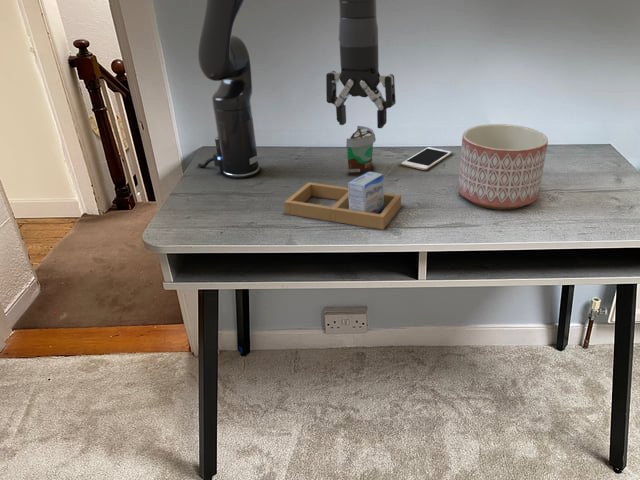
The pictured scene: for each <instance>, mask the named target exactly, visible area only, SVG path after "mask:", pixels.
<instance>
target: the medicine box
mask: <svg viewBox="0 0 640 480" xmlns="http://www.w3.org/2000/svg"><path fill="white" fill-rule="evenodd" d="M384 177H385V175H383V173H379V172H375V171H369V172H366V173H365V174H360V175H358V177H355V178H354V179H352V180H350V181H348V182H347V188H348V195H349V208H348V209H350V210H356V211H363V212H369V213H376V214H380V212H381V213H382V211H383V210H384V209H385V207H384V193H385V191H384V190H385V188H384V187H385V184H384V183H385V181H384V179H385V178H384Z"/></svg>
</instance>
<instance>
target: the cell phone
mask: <svg viewBox="0 0 640 480" xmlns="http://www.w3.org/2000/svg"><path fill="white" fill-rule="evenodd" d="M451 155H452V151H451V150H446V149H442V148H441V149H440V148H436V147H431V146H428V147H426V148H424V149H422V150H420V151H419V152H417V153H416V154H414V155H411V157H409V158H407V159H405V160H404V161H402V162H401V166H403V167H408V168H412V169H418V170H420V171H427V170H429V169H430V168H432V167H433V166H435V165H436V164H438V163H439V162H441V161H443V160H444V159H446V158H447V157H449V156H451Z"/></svg>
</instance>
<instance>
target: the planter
mask: <svg viewBox="0 0 640 480" xmlns="http://www.w3.org/2000/svg"><path fill="white" fill-rule="evenodd" d="M461 137H462V138H461V149H460V162H459V174H458V192H459V194H460V195H461V196H462V197H463V198H465V199H466V200H468V201H469V202H470V203H472V204H474V205H477V206H479V207H482V208H486V209H492V210H514V209H518V208H522V207H524V206H526V205H530V204H531V203H534V202H535V201H537V199H538V198H539V196H540V191H541V186H542V180H543V179H542V178H543V175H544V174H543V173H544V169H545V168H544V167H545V161H546V156H547V149H548V144H549V139H548V136H547V135H546V134H545V133H543V132H541V131H539V130H537V129H534V128H530V127H527V126H522V125H515V124H505V123H489V124H488V123H487V124H480V125H476V126H472V127H469V128H467V129H465V130H464V131H463V132H462V136H461Z"/></svg>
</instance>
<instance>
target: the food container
mask: <svg viewBox="0 0 640 480" xmlns="http://www.w3.org/2000/svg"><path fill="white" fill-rule="evenodd" d="M375 142H376V135H375V131H374V130H373V129H372V128H370V127H368V126H363V125H356V131H355V132H353V133H352V134H351V136H350V138H346V146H345V147H346V150H347V167H348V176H357V175H358V176H361V175H363V174H365V173H366V172H372V167H373V152H374V151H373V150H374V143H375Z"/></svg>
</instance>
